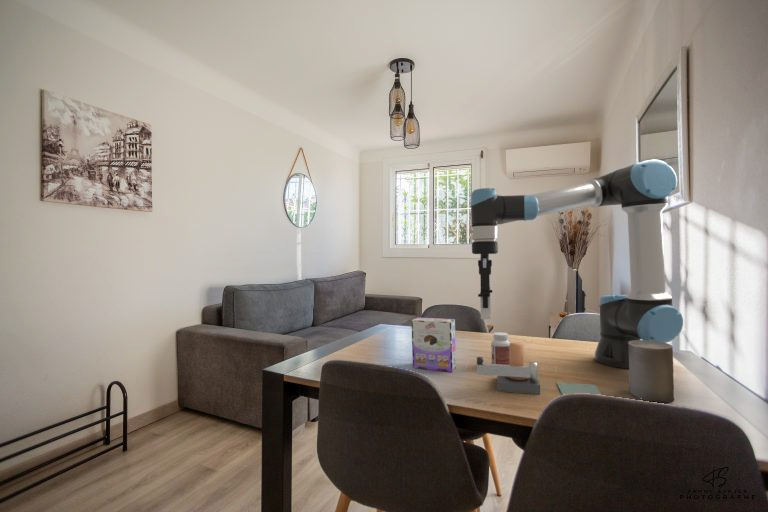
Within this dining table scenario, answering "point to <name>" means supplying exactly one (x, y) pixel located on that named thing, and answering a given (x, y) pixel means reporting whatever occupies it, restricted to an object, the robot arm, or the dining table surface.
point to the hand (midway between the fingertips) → (485, 316)
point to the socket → (517, 386)
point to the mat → (577, 388)
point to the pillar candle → (651, 370)
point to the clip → (509, 370)
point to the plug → (517, 358)
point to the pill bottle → (500, 349)
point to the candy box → (434, 344)
